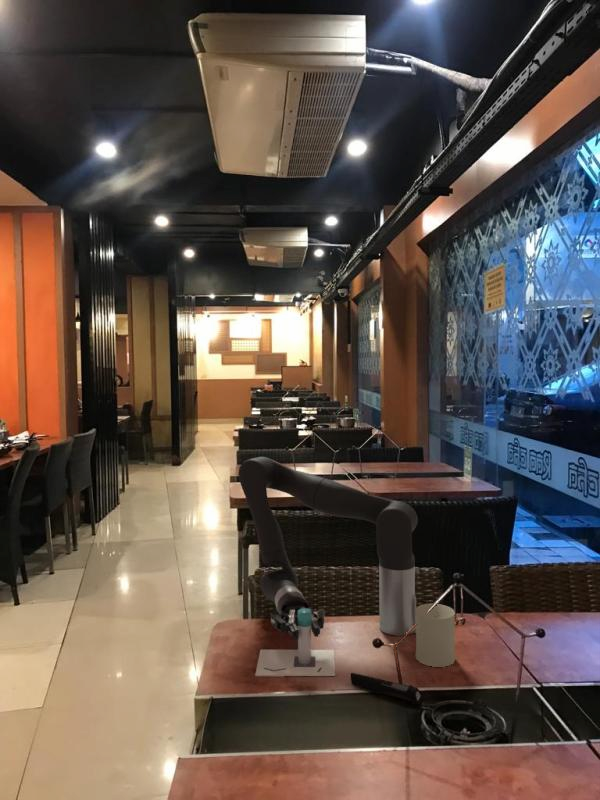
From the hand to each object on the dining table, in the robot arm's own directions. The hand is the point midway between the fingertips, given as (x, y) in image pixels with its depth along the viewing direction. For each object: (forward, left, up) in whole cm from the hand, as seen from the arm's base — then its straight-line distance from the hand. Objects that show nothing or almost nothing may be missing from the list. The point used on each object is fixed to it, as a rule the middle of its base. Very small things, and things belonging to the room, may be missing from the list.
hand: (307, 633), depth 138 cm
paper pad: (+3, -3, -8) cm, 9 cm away
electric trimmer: (-17, +10, -9) cm, 22 cm away
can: (-30, -6, -9) cm, 32 cm away
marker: (+1, -3, -8) cm, 8 cm away
